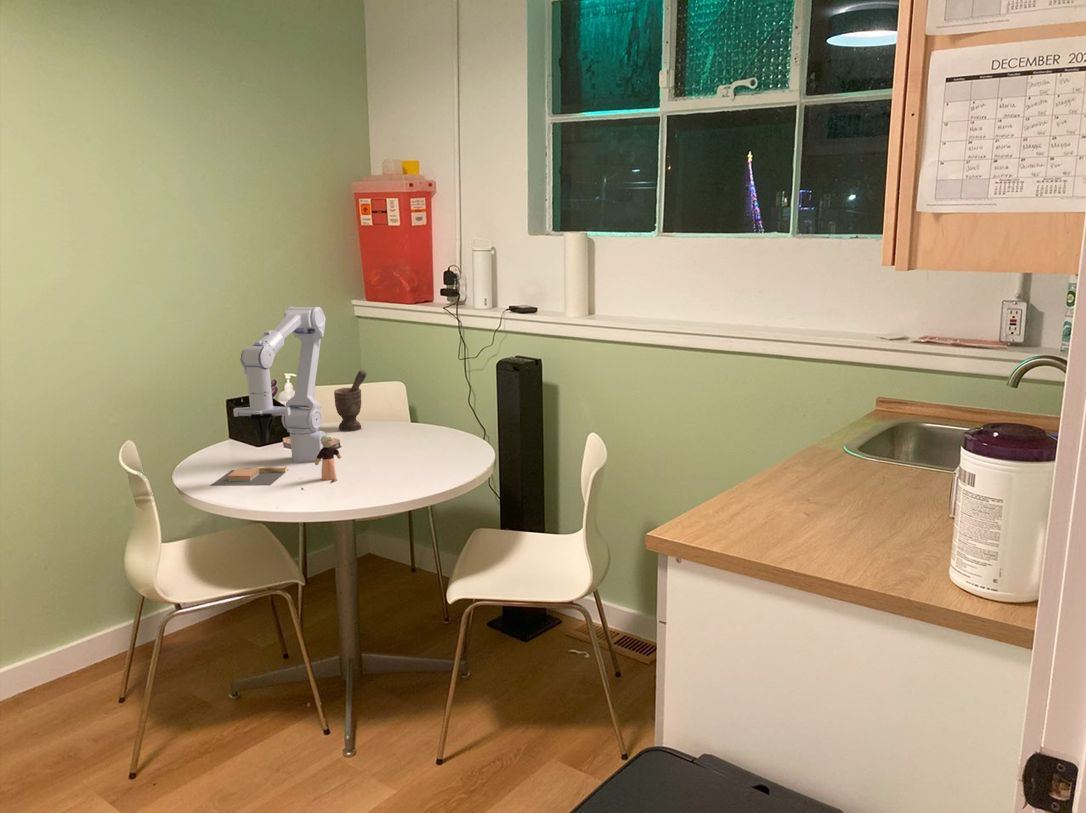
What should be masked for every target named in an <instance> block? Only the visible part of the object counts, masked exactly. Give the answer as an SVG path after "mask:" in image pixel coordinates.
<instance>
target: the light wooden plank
mask: <svg viewBox="0 0 1086 813" xmlns="http://www.w3.org/2000/svg"><path fill="white" fill-rule="evenodd" d="M237 469H259V473H272V472H286V473H287V472H288V471H289V469H288V466H287V465H285V466H283V465H282V466H258V467H243V468H242V467H238V468H236V469H235V470H237Z"/></svg>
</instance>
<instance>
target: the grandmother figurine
mask: <svg viewBox="0 0 1086 813" xmlns="http://www.w3.org/2000/svg"><path fill="white" fill-rule="evenodd" d="M320 441H321V444H323V446H324V448H322V449H321V450H320V452H319V454H318V455H317V458H316V462H314V465H315V466H318V465H319V464H320V462H321V472H320V473H321V480H322V481H325V482H326V481H330V482H333V483H334V482H337V481H338V478H337V472H336V467H335V456H336V458H337V459H338V460H340V459H341V458H342V456H341V454H340V451H339V450H338V449H337V448H336V447H334V446H333V443H334V437H333V436H332V435H331V434H326V433H325V435H324V436H322V437H321V440H320ZM321 458H322V461H320V459H321Z"/></svg>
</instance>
